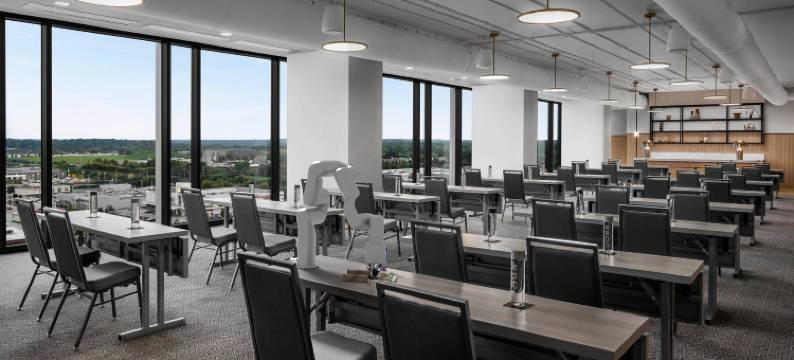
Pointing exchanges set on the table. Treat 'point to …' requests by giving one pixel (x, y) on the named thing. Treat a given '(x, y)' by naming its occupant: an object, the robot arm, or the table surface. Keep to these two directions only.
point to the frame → (387, 280)
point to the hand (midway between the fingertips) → (374, 276)
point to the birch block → (384, 275)
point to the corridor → (357, 275)
